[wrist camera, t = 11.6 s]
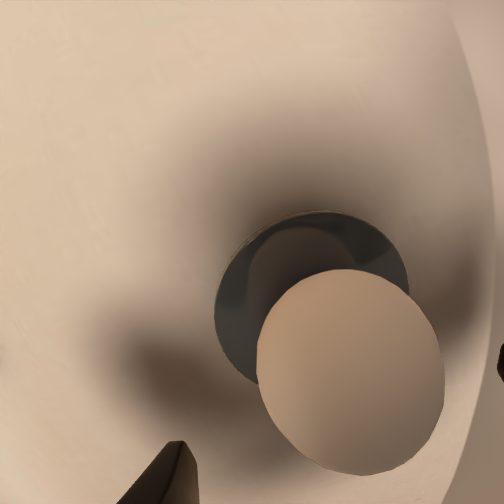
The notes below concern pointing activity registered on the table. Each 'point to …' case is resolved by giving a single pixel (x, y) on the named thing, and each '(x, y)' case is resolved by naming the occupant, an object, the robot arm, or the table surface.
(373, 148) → the table surface
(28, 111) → the table surface
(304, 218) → the coaster
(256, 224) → the table surface
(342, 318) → the egg
